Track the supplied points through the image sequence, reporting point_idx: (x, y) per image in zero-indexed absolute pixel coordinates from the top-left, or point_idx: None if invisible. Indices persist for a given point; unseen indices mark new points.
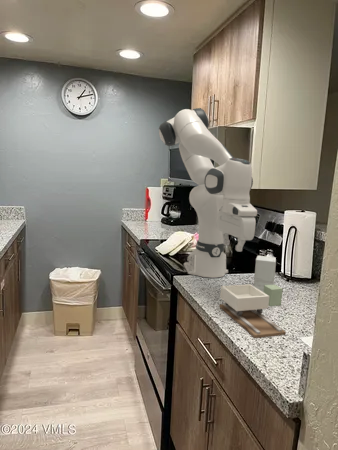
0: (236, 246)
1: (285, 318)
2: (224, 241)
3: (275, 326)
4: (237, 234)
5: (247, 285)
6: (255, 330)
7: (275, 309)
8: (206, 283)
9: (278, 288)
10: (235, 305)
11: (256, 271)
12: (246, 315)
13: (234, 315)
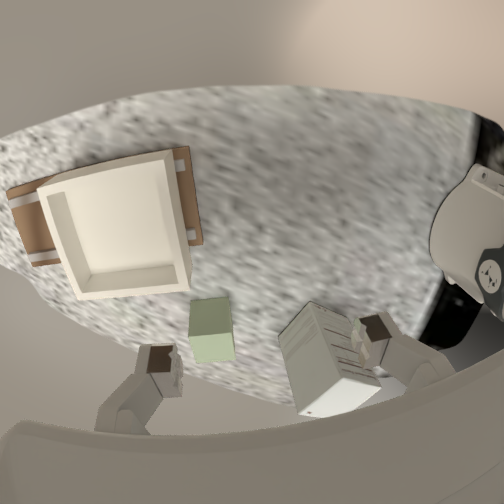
0: (156, 367)
1: (114, 302)
2: (377, 331)
3: (40, 255)
4: (84, 458)
5: (177, 274)
6: (14, 199)
7: (168, 305)
8: (403, 183)
9: (200, 355)
10: (59, 176)
11: (325, 348)
12: None
13: None
